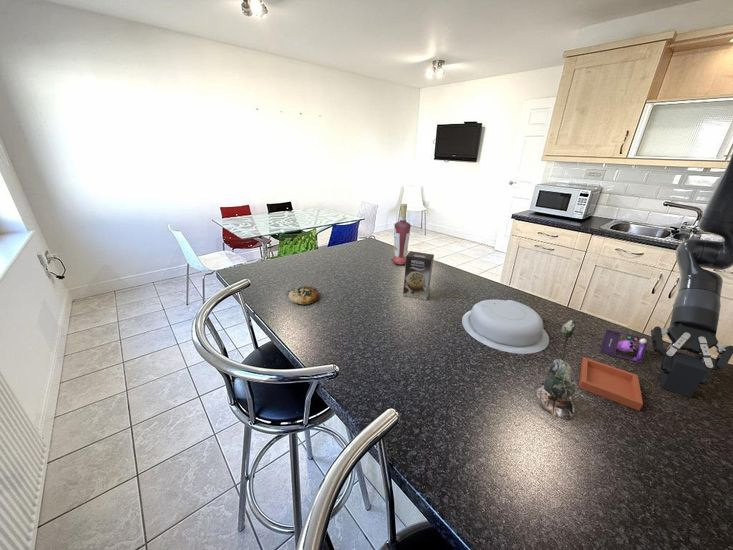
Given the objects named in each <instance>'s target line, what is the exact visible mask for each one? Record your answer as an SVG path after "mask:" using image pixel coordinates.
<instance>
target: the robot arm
mask: <svg viewBox="0 0 733 550" xmlns="http://www.w3.org/2000/svg"><path fill="white" fill-rule="evenodd" d="M717 183H718V184H717V185H716V187H715V188H714V191H713V192H712V194H711V196H710V198H709V200H708V202H707V204H706V207H705V209H704V211H703V213H702V215H701V218H700V220H699V223H698V228H699V229H700V230H701V231H703V232H705V233H709V234H712V235H716V236H720V237H721V240H720V241H718V240H710V239H709V240H708V239H702V238H701V239H700V238H687V239H685V240H683V241H682V242H680V243H679V245H677V247H676V250H675V259H676V263H677V266H678V270H679V276H680V277H679V278H680V279H679V284H678V290H677V295H676V297H675V299H674V303H673V305H672V312H671V318H670V324H669V327H668V328H662V327H660V326H654V327H652V328H651V330H650V336H651V345H652V351H653V352H654V353H656V354H659V355H660V356H661V363H660V370H661V371H662V370H663V373H666V374H668V373H670V372H671V368H672V363H673V357H672V356H673V355H674V354H675V353H676V352H678V350H681V351H686V352H689V353H692V354H694V357H696V358H700V359H702V361H703V363H704V365H705V367H706V369H707V373H706V374H705V376H704V377H703V379H702V381H701V382H700V384H699V385H700V386H701V385H705V384H707V383H709V382H710V380H711V373H712V370H714V371H720V370H723V369H725V368H727V365H728V364H729V361H730V360H731V358H732V356H733V345H727V344H724V343H722V342H720V341H719V340H718V339H717V332H718V325H719V319H720V313H721V304H722V303H721V296H722V290H723V283H724V280H723V277H722V276H721V275H720V274H718V273H716V272H714V271H712V270H717V271H724V270H728V269H730V268H731V267H733V152H732V153H731V156H730V159H729V161H728V163H727V166H726V168H725V170H724V172H723V175H722V176H721V178H720V180H719V182H717ZM708 269H710V270H708ZM666 335H667V337H668V339H669V340H670V341H671V343H670V344H669V346H668V347H667V348H665V347H664V340H663V337H665V336H666ZM714 347H715V349H716V353H718V354H717V355H716V357H715V359H714V361H713V360H712V354H711V351H710V349H712V348H714Z"/></svg>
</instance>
